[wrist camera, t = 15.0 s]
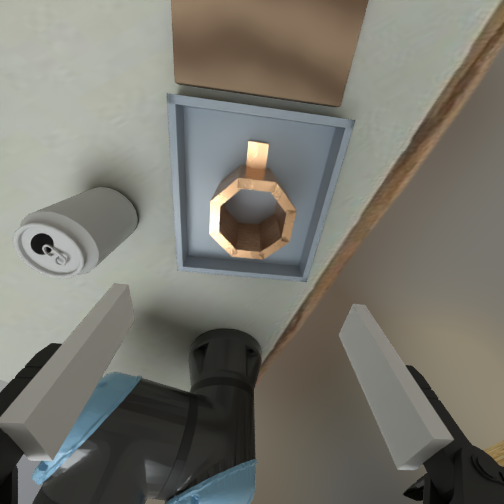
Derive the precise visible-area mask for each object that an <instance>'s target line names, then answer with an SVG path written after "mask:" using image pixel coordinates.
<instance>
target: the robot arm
mask: <svg viewBox="0 0 504 504" xmlns="http://www.w3.org/2000/svg"><path fill="white" fill-rule="evenodd" d="M134 321H135V317H134V312H133V306H132V301H131V296H130V290H129V285H127V284H115V283H114V284H113V285H112V287H111V288H110V289H109V290H108V291H107V292H106V294H105V295H104V296H103V297H102V298H101V299H100V301H99V302H98V303H97V304H96V305H95V306H94V308H93V309H92V310H91V311H90V312H89V314H88V315H87V316H86V317H85V318H84V319H83V321H82V322H81V323H80V324H79V325H78V326H77V328H76V329H75V330H74V331H73V332H72V333H71V335H70V336H69V337H68V338H67V339H66V341H65V342H64V343H63V344H56V343H51V344H50V345H48V346H47V347H45V348H44V349H42V350H41V351H40V352H38V353H37V354H36V355H35V356H34V357H33V358H32V359H31V360H30V361H29V362H28V363H27V364H26V365H25V368H23V369H22V370H21V371H20V372H19V373H18V374H17V375H16V376H15V379H12V381H11V382H10V383H9V384H8V385H7V386H6V387H5V388H4V389H3V390H2V391H1V392H0V504H18V469H17V466H16V464H17V463H18V461H19V460H20V458H21V457H22V455H23V454H25V455H26V456H27V458H28V459H29V460H39V461H41V462H40V464H39V465H38V466H37V467H36V469H35V471H34V472H33V474H32V480H34V481H36V484H40V485H41V484H42V483H43V485H42V487H41V489H40V491H39V492H38V494H37V496H36V497H35V499H34V501H33V503H32V504H145V502H146V500H147V499H159V500H164V501H165V504H250V503H251V501H252V499H253V497H254V492H255V473H256V463H257V460H256V458H255V420H254V388H255V384H256V381H257V377H258V374H259V370H260V367H261V362H262V358H261V348H260V346H259V344H258V342H257V341H256V340H255V339H254V338H252V337H251V336H249V335H248V334H246V333H243V332H240V331H236V330H230V329H219V330H213V331H209V332H206V333H204V334H202V335H201V336H199V337H198V338H197V339H196V340H195V341H194V342H193V344H192V346H191V350H190V354H189V369H190V380H191V390H190V393H189V392H186V391H183V390H180V389H176V388H173V387H170V386H166V385H163V384H160V383H156V382H153V381H150V380H146V379H143V378H142V377H141V376H137V377H135V376H131V375H127V374H123V373H119V372H113V373H109V374H107V375H105V376H104V377H102V376H103V374H104V372H105V370H106V369H107V367H108V365H109V364H110V362H111V360H112V358H113V357H114V355H115V353H116V352H117V350H118V348H119V346H120V345H121V343H122V341H123V340H124V338H125V336H126V334H127V333H128V331H129V329H130V328H131V326H132V324H133V322H134ZM339 337H340V339H341V341H342V344H343V346H344V348H345V351H346V353H347V355H348V357H349V360H350V362H351V364H352V367H353V369H354V371H355V373H356V376H357V378H358V380H359V383H360V385H361V387H362V389H363V392H364V394H365V396H366V398H367V401H368V403H369V405H370V407H371V410H372V412H373V414H374V417H375V419H376V421H377V424H378V426H379V428H380V430H381V433H382V435H383V437H384V439H385V442H386V444H387V446H388V449H389V451H390V453H391V456H392V457H393V460H394V462H395V465H396V467H397V469H399V470H416V469H417V468H419V467H420V466H421V465H422V464H423V465H424V466H425V468H426V470H427V472H428V473H427V474H425V475H424V476H422V477H421V478H420V479H418V480H417V482H416V485H415V486H417V487H418V488H419V487H420V486H422V485H423V484H424V490H423V492H424V497H423V504H504V467H502V466H499V465H498V464H497V462H496V461H495V460H494V459H493V458H492V457H491V456H489V455H488V454H487V453H486V452H484V451H483V450H481V449H479V448H477V447H475V446H473V445H472V444H471V443H470V442H469V441H468V439H467V438H466V437H465V435H464V434H463V432H462V431H461V430H460V428H459V427H458V425H457V424H456V422H455V421H454V420H453V418H452V417H451V415H450V414H449V412H448V411H447V410H446V409H445V407H444V405H443V404H442V403H441V401H440V400H438V397H437V395H436V394H435V393H434V391H433V390H431V387H430V386H429V384H428V383H427V381H426V380H425V379H424V377H423V376H422V375H421V374H420V373H419V372H418V371H417V370H416V369H415V368H414V367H413V366H408V365H405V364H404V363H403V362H402V360H401V359H400V357H399V356H398V354H397V352H396V351H395V349H394V348H393V346H392V345H391V343H390V342H389V340H388V339H387V337H386V336H385V334H384V333H383V331H382V330H381V328H380V327H379V325H378V324H377V322H376V321H375V319H374V318H373V316H372V315H371V313H370V312H369V310H368V309H367V307H366V306H365V305H361V304H353V305H352V307H351V309H350V311H349V313H348V316H347V318H346V320H345V322H344V324H343V326H342V329H341V331H340V333H339ZM101 377H102V378H101Z"/></svg>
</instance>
